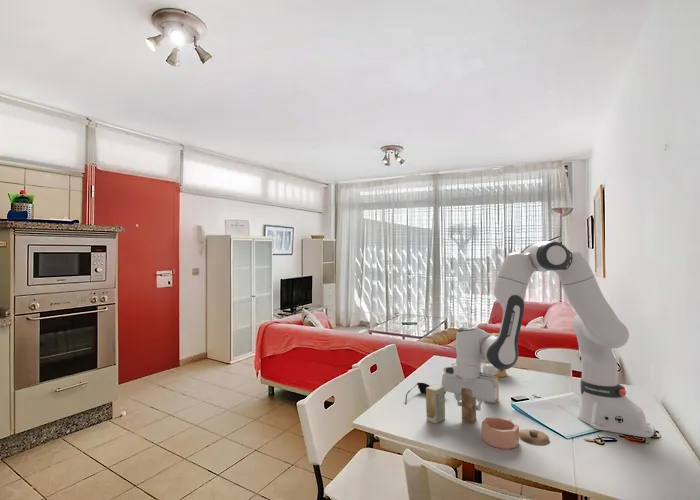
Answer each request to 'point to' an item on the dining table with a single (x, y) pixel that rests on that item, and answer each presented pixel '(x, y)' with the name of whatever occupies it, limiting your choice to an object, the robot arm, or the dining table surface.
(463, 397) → the brown wooden block
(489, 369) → the beer can
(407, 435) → the dining table surface
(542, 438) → the jar lid
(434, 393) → the skincare box
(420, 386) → the sunglasses
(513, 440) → the jar
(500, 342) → the robot arm
